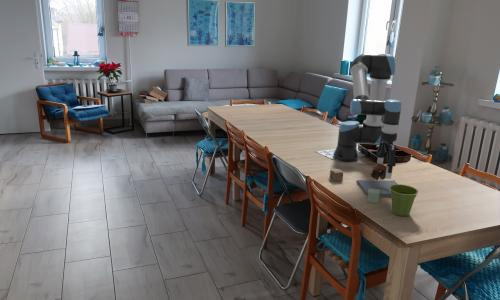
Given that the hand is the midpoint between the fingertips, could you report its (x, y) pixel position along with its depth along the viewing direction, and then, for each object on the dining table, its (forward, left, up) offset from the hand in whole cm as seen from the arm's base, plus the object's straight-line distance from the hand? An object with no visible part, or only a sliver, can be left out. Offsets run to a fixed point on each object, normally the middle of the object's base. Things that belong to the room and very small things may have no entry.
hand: (383, 174), depth 201 cm
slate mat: (0, 0, -8) cm, 8 cm away
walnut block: (-13, -20, -8) cm, 25 cm away
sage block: (+14, -9, -8) cm, 19 cm away
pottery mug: (0, -1, -3) cm, 3 cm away
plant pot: (+27, -1, -9) cm, 28 cm away
